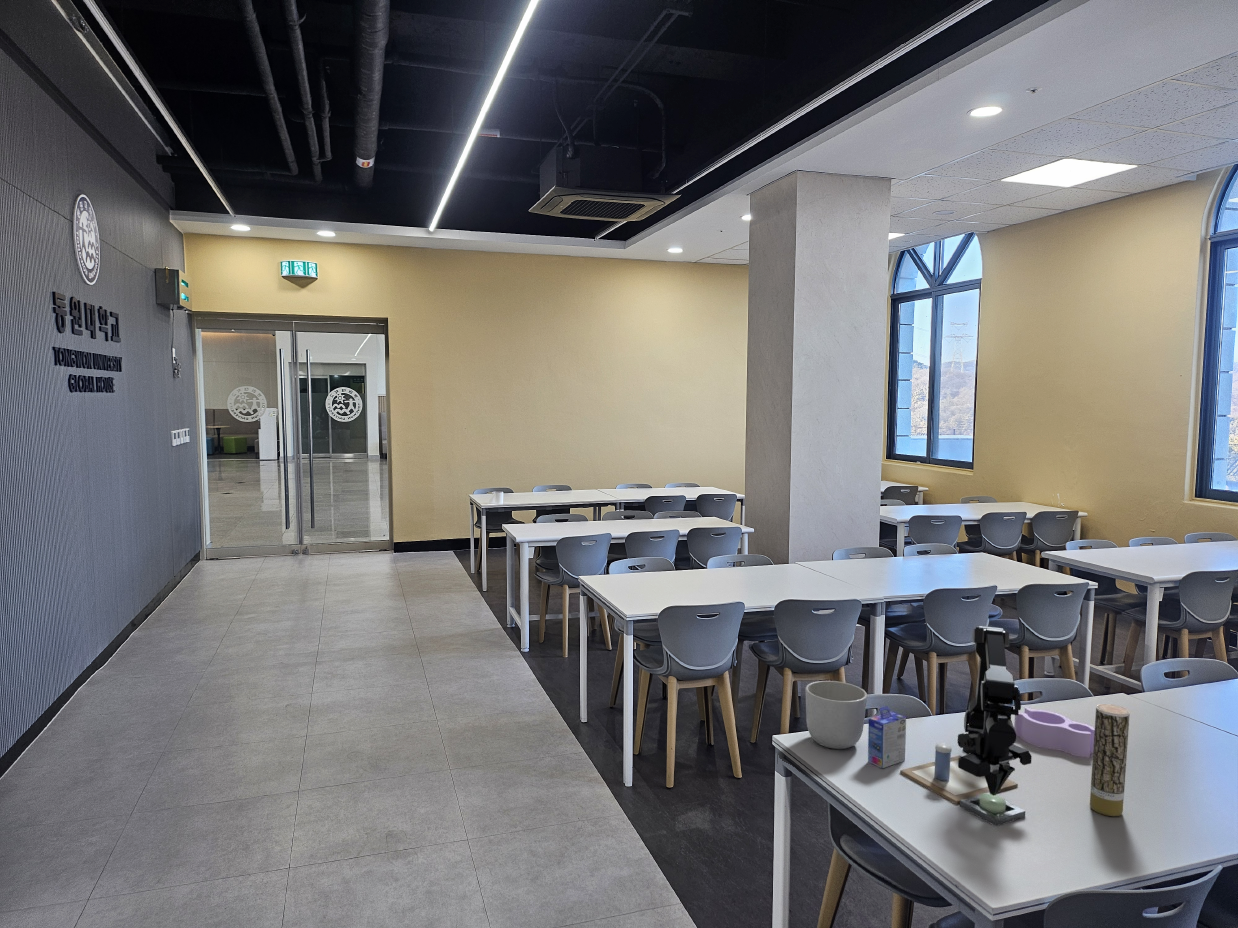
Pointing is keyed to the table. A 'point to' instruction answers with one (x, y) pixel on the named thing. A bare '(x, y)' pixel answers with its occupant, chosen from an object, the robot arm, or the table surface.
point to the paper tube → (1109, 759)
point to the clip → (1054, 732)
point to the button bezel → (996, 820)
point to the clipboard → (952, 781)
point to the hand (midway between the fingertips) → (993, 794)
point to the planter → (835, 713)
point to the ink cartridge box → (886, 738)
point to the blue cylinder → (942, 761)
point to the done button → (992, 804)
